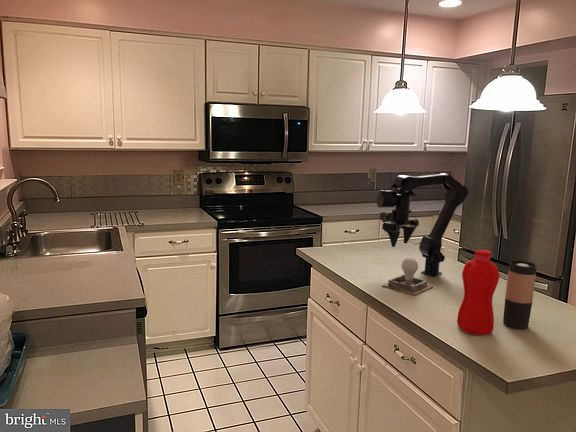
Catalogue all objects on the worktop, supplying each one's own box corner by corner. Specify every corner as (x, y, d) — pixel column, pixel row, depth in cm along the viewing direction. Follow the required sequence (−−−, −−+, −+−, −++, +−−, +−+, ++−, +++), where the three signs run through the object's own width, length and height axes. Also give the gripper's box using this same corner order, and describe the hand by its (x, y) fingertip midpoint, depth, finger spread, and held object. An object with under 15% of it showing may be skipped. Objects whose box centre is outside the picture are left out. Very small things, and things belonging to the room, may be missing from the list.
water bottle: (477, 321, 152) (486, 244, 148) (497, 336, 142) (506, 254, 137) (450, 322, 151) (457, 245, 146) (467, 337, 140) (476, 254, 136)
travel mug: (497, 320, 153) (504, 260, 150) (520, 320, 154) (527, 260, 150) (510, 330, 146) (518, 267, 142) (534, 330, 147) (542, 267, 143)
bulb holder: (400, 278, 193) (401, 272, 193) (433, 287, 184) (433, 281, 183) (381, 286, 183) (382, 279, 183) (414, 295, 174) (415, 289, 173)
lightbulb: (411, 289, 179) (414, 261, 177) (397, 285, 183) (399, 257, 181) (419, 285, 183) (421, 258, 181) (404, 282, 187) (406, 254, 185)
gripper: (396, 202, 203) (394, 238, 206) (372, 206, 190) (369, 244, 193) (420, 205, 196) (417, 243, 199) (396, 210, 183) (393, 250, 185)
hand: (399, 245), depth 194 cm, fingers open, 9 cm apart
